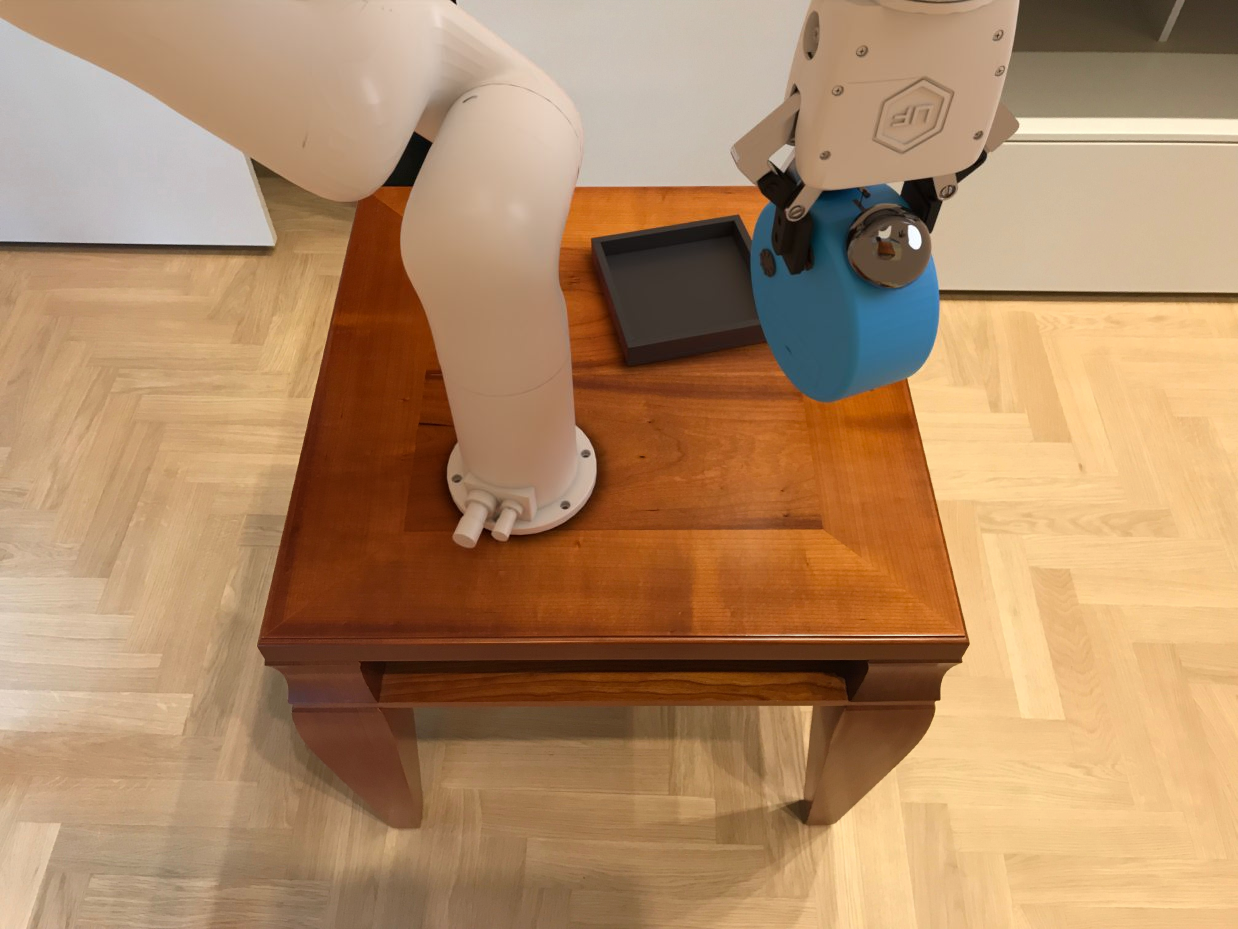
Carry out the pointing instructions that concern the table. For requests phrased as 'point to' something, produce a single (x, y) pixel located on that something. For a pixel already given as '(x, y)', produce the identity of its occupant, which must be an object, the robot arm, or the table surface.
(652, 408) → the table surface
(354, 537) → the table surface
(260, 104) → the robot arm
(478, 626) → the table surface
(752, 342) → the tray
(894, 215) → the alarm clock
